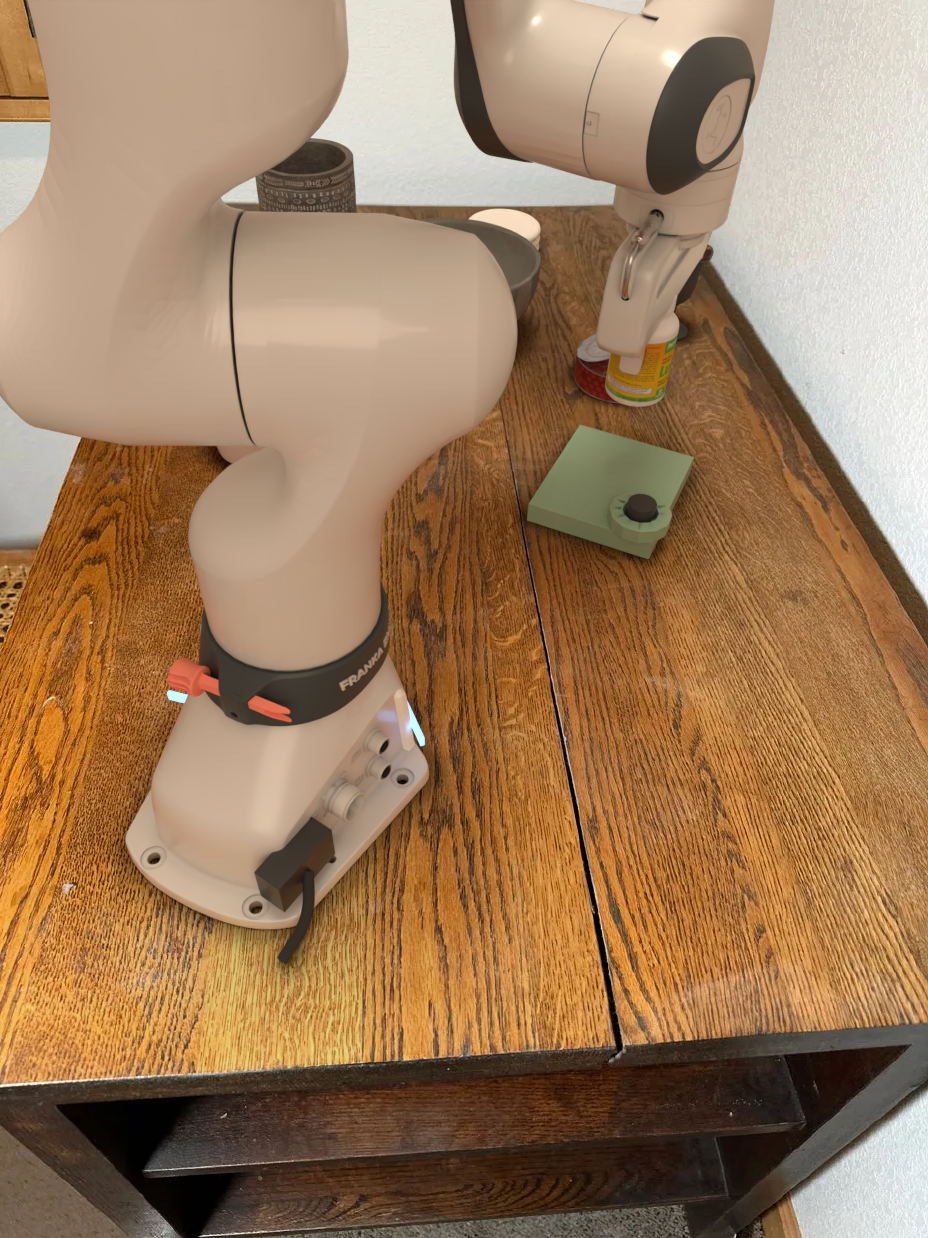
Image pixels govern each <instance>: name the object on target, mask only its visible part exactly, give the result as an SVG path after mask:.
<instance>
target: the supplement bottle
mask: <svg viewBox="0 0 928 1238" xmlns="http://www.w3.org/2000/svg"><path fill="white" fill-rule="evenodd" d="M676 300H677V295H676V297H675V298H674V300H673V303H672V305H671V307H670V309H669V310H668V312H667V313H666V315H665V316H664V318H663V320H662V321H661V323H660V324H659V326H658V328H657V329H656V331H655V332H654V334H653V336H652V337H651V339H650V340H649V342H648V344H647V345H646V347H645V349H646V350H647V352H646V357H645V362H644V365H643V367H642V369H641V370H640V372H639V373H638V374H637V375H631V374H627V373H624V372H622V371H621V370H620V369H619V364H620V357H621V355H616V354H613V353H610V358H609V364H608V369H607V376H606V382H605V388H606V391H607V393H608V394H609V396H610V397H611V398H612V399H614V400H615V401H617V402H619V403H621V404H620V405H624V406H627V407H636V408H644V407H650V406H653V405H655V404H658V403H659V402H660V401H661V400H663V398H664V396H665V393H666V390H667V384H668V380H669V376H670V372H671V368H672V363H673V358H674V353H675V348H676V345H677V341H678V340H677V336H678V331H679V322H680V320H679V318H678V316H677V315H676V313H674V310H675V305H676Z"/></svg>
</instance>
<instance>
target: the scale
mask: <svg viewBox="0 0 928 1238" xmlns="http://www.w3.org/2000/svg"><path fill="white" fill-rule="evenodd" d="M694 459H695V457H694V456H692V455H688V454H685V453H681V452H678V451H674V450H671V449H667V448H664V447H660V446H657V445H653V444H651V443H650V444H649V443H647V442H642V441H639V440H636V439H633V438H628V437H625V436H621V435H619V434H614V433H611V432H607V431H604V430H600V429H598V428H594V427H590V426H586V425H584V424H579V425H578V426H577V428H576V430H575V431H574V433H573V434H572V436H571V437H570V439H569V440H568V442H567V443H566V445H565V446H564V448H563V450H562V451H561V453H560V454H559V456H558V458H557V459H556V460H555V462H554V464H553V465H552V467H551V468H550V470H549V471H548V473H547V474H546V476H545V478H543V480H542V482H541V483H540V485H539V487H538V488H537V490H536V491H535V493H534V495H532V497H531V499H530V500H529V502H528V504H527V512H526V513H527V514H526V521H527V522H530V523H534V524H537V525H539V526H543V527H546V528H549V529H551V530H555V531H558V532H562V533H565V534H568V535H571V536H573V537H578V538H580V539H583V540H586V541H589V542H592V543H595V544H599V545H602V546H604V547H609V548H611V549H614V550H618V551H621V552H624V553H627V554H630V555H633V556H636V557H640V558H642V559H646V560H650V558H651V556H652V554H653V552H654V550H655V548H656V546H657V543H658V542H659V540H661V539H663V538H665V537H666V536H667V533H668V532H669V530H670V527H671V523H672V519H673V513H672V512H673V510H674V509H675V506H676V504H677V502H678V499H679V498H680V496H681V494H682V492H683V489H684V487H685V485H686V483H687V481H688V480H689V477H690V475H691V472H692V467H693V464H694ZM635 494H646V495H649V496H651V497H653V498H654V499H655V500H656V502H657V508H656V512H655V517H654V519H653V520H652V521H650V522H648V523H639V522H635V521H632V520H630V519H629V518H628V517H627V515H626V508H627V503H628V499H629V498H630V497H631V496H632V495H635Z"/></svg>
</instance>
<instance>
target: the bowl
mask: <svg viewBox="0 0 928 1238" xmlns="http://www.w3.org/2000/svg"><path fill="white" fill-rule="evenodd" d="M417 220H418V221H423V222H428V223H432V224H436V225H440V226H444V227H448V228H452V229H456V230H460V231H464V232H468V233H472V234H474V235H476V236H477V237H478V238H479V239H480V240H481V241H482V243H483V244H484V245H485V246H486V247H487V248H488V250H489V251H490V252H491V254H492V255H493V256H494V258H495V259H496V261H497V263H498V264H499V266H500V268H501V269H502V271H503V273H504V276H505V278H506V280H507V282H508V285H509V288H510V291H511V293H512V297H513V301H514V305H515V310H516V318H517V322H518V321H519V320H520V319H521V318H522V316H523V315H524V313H525V312H526V311H527V310H528V308H529V306H530V304H531V303H532V300H533V298H534V296H535V292H536V290H537V287H538V284H539V281H540V273H541V263H542V262H541V261H542V258H541V254H540V252H539V250H537V248H536V247H535V246H534V245H533V244H532V243H531V242H530V241H529V240H528V239H526V238H525V237H523V236H521V235H520V234H518V233H516V232H514V231H512V230H509V229H507V228H504V227H501V226H498V225H495V224H491V223H487V222H483V221H477V220H470V219H469V218H459V217H434V218H433V217H432V218H431V217H430V218H424V219H417Z"/></svg>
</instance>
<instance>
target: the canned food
mask: <svg viewBox="0 0 928 1238" xmlns="http://www.w3.org/2000/svg"><path fill="white" fill-rule="evenodd" d="M609 358H610V352H606V351H603V350H601V349H599V347H598V345H597V342H596V332H595V333H594V334H592V335H591V336H588V337H587V338H585V339H584V340H582V341H581V342H580V344H579V345H578V347H577V348H576V356H575V365H574V370H573V371H574V372H573V379H574V382H575V384H576V385H577V387H578V388H579V389H580V390H581V391H582V392H583V393H585V394H586V395H588V396H590V397H591V398H594V399H596V400H599V401H601V402H602V401H603V402H605V403H610V404H611V403H612V404H619V405H622V404H621V403H619V402H617V401H615V400H614V399H612V398H611V397H610V396H609V394H608V393H607V391H606V388H605V382H606V376H607V369H608V364H609Z"/></svg>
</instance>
